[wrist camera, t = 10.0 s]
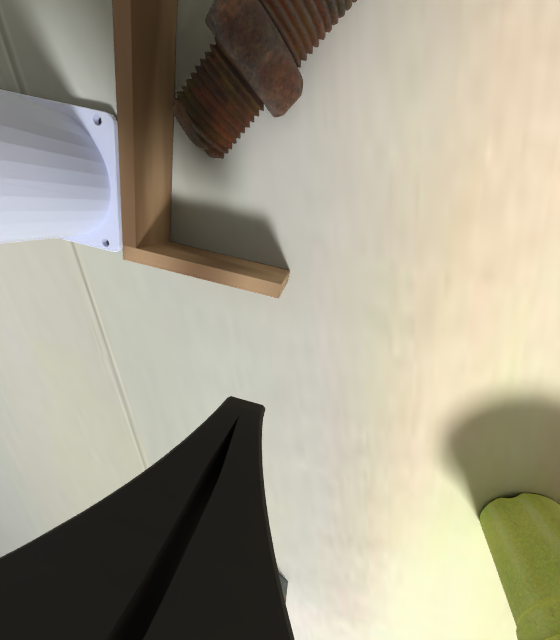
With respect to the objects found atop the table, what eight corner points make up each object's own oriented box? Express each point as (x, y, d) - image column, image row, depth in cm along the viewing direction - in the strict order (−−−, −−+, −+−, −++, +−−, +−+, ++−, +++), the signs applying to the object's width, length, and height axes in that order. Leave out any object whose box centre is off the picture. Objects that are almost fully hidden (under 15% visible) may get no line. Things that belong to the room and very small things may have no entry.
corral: (158, 250, 18) (123, 259, 15) (166, -299, 10) (89, -540, 7) (287, 282, 18) (278, 298, 14) (411, -276, 9) (456, -530, 6)
